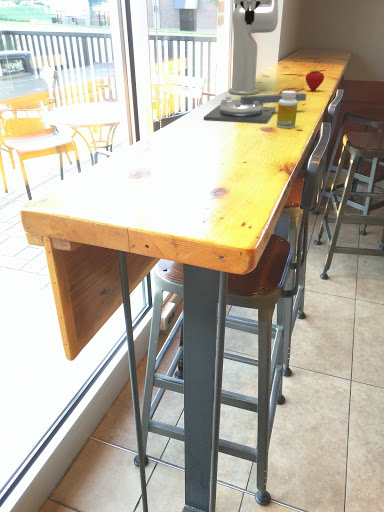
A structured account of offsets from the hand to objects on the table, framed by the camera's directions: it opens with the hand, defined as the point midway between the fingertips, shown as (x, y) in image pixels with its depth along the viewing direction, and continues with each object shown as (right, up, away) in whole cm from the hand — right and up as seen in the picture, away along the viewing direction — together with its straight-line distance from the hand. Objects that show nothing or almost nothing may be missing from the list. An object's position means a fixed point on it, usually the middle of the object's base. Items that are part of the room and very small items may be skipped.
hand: (249, 24), depth 138 cm
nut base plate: (-3, -31, -2) cm, 32 cm away
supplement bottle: (+9, -40, -16) cm, 44 cm away
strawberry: (+32, -9, +35) cm, 48 cm away
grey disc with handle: (+4, -29, -1) cm, 30 cm away
